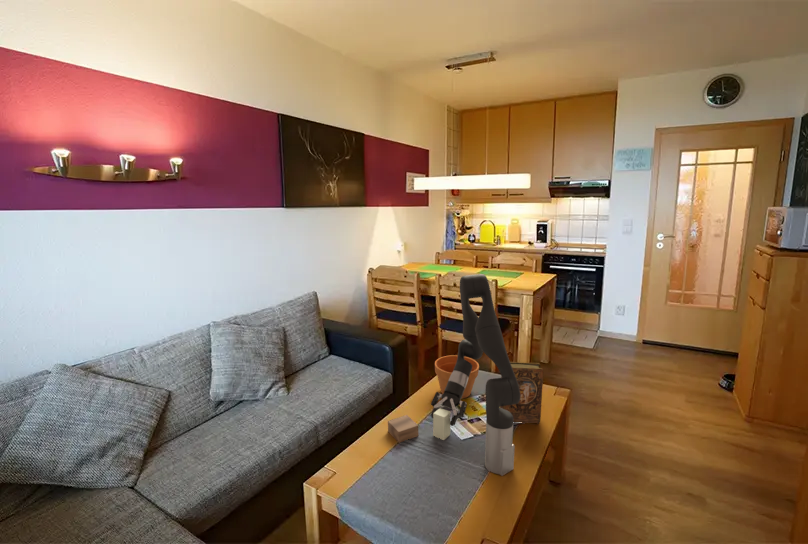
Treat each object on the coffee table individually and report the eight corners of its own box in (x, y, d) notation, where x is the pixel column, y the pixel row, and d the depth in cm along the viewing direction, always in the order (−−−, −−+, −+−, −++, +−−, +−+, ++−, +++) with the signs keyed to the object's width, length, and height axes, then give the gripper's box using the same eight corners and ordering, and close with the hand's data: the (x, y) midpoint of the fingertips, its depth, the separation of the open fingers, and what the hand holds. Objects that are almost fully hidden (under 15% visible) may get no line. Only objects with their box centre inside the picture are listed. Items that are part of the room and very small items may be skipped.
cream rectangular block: (450, 434, 165) (450, 411, 163) (443, 440, 161) (444, 417, 159) (439, 430, 168) (439, 407, 166) (433, 436, 164) (433, 413, 162)
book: (500, 422, 173) (502, 367, 168) (498, 415, 179) (501, 361, 174) (540, 424, 172) (543, 368, 167) (537, 417, 177) (540, 363, 172)
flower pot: (484, 388, 203) (485, 360, 200) (467, 407, 185) (468, 377, 182) (446, 378, 214) (446, 352, 211) (426, 395, 196) (426, 366, 194)
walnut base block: (418, 436, 164) (418, 425, 163) (398, 443, 160) (398, 431, 159) (406, 425, 172) (406, 414, 171) (388, 432, 168) (387, 420, 167)
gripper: (438, 376, 172) (423, 412, 165) (469, 385, 164) (454, 424, 157) (445, 383, 177) (430, 419, 171) (475, 392, 169) (460, 430, 162)
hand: (442, 421), depth 164 cm, fingers open, 8 cm apart
